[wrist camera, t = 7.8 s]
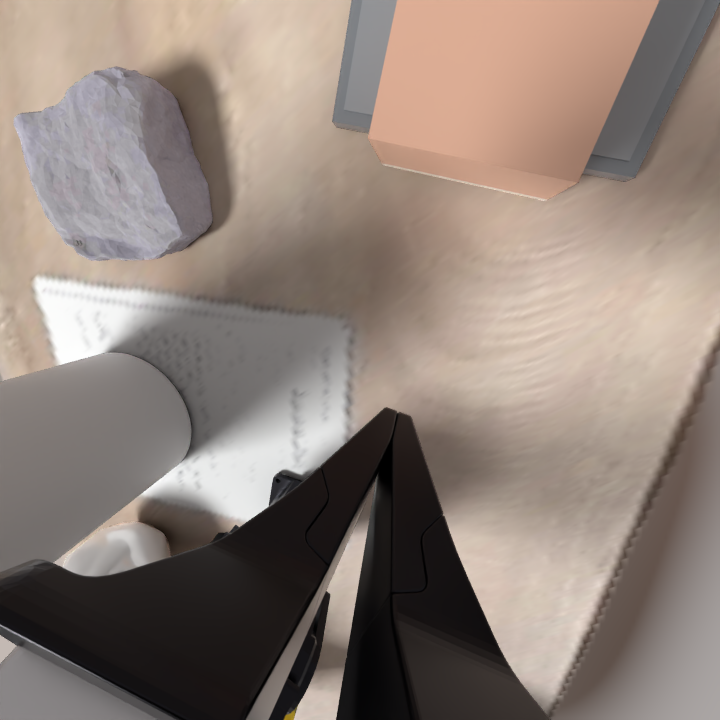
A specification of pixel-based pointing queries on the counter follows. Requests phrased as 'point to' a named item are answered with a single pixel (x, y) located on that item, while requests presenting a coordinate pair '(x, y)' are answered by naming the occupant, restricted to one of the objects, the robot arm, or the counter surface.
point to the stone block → (117, 168)
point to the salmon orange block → (503, 88)
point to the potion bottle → (118, 549)
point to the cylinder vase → (81, 449)
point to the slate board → (629, 111)
